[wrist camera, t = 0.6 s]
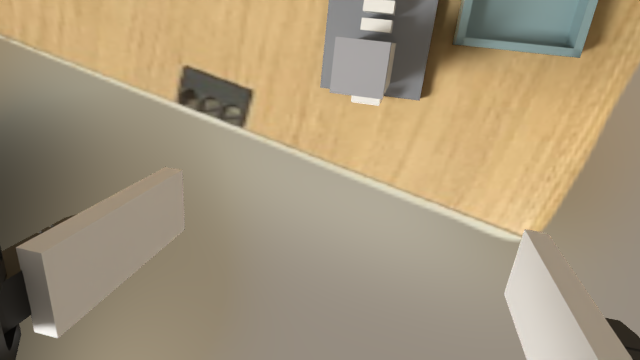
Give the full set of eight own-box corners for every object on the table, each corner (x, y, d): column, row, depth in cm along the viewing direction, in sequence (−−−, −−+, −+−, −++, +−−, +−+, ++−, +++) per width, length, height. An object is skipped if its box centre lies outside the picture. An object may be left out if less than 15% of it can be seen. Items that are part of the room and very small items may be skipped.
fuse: (356, 38, 34) (335, 36, 25) (396, 42, 34) (391, 42, 24) (351, 79, 35) (329, 92, 26) (390, 84, 35) (382, 99, 26)
